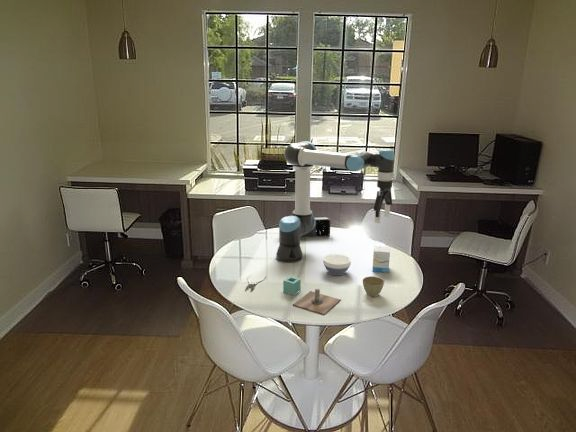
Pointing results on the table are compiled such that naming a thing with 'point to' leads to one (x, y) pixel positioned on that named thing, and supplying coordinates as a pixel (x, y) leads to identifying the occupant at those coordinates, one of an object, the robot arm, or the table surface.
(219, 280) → the table surface
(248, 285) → the pliers
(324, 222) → the graphics card
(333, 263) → the bowl
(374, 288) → the flower pot
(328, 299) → the post block
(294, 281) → the collar
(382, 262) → the ink box
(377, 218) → the robot arm
